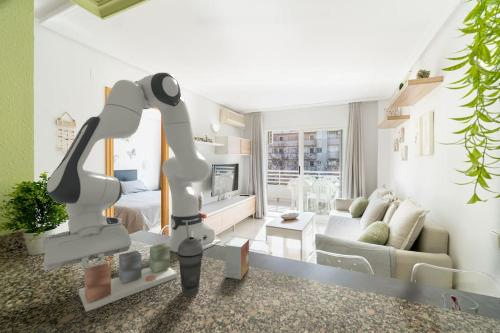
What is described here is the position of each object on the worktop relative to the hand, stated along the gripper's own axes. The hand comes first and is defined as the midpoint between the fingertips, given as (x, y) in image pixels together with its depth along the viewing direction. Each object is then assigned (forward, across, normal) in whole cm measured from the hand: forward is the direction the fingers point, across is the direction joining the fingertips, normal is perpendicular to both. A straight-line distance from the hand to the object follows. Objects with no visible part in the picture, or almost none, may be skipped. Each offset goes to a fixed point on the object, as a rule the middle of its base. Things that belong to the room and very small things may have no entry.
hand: (95, 273), depth 62 cm
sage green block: (+3, +18, +4) cm, 19 cm away
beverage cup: (+16, +20, -6) cm, 26 cm away
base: (+5, +9, +5) cm, 11 cm away
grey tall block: (+3, +9, +4) cm, 10 cm away
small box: (+16, +37, -6) cm, 41 cm away
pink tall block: (+5, 0, +2) cm, 6 cm away
